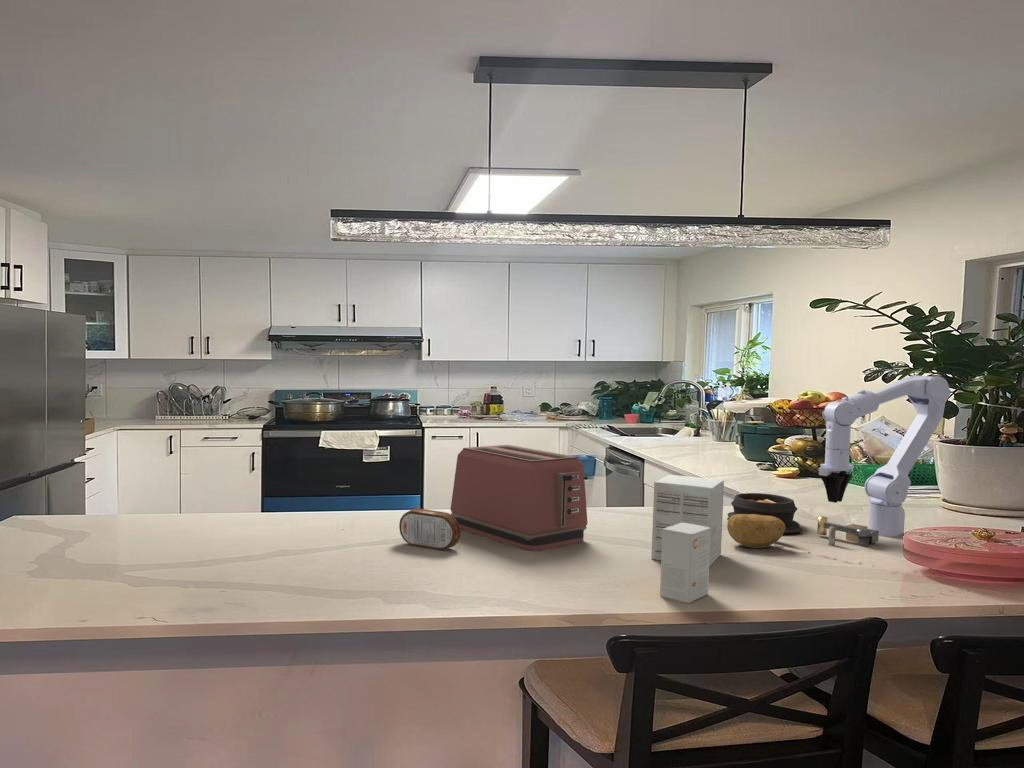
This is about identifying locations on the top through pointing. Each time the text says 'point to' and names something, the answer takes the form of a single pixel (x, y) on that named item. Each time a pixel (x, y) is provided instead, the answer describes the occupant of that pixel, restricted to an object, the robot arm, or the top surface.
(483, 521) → the toaster
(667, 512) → the supplement box
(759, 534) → the potato
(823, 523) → the lever
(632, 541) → the top surface
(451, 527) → the tin
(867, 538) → the press base
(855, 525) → the nut block
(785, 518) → the casserole
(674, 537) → the small box
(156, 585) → the top surface
